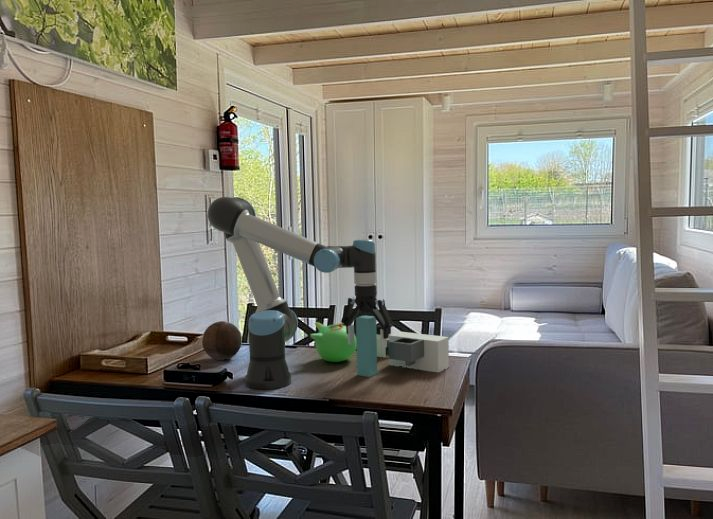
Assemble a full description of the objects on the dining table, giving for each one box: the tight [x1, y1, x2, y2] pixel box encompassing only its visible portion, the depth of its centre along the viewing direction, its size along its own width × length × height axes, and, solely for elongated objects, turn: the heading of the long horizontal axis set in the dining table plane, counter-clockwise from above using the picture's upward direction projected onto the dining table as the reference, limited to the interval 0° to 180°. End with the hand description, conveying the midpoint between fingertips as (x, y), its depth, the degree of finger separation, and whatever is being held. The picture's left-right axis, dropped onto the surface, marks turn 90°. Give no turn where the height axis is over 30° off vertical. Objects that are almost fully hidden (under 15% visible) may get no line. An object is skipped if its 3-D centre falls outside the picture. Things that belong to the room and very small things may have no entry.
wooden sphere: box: [201, 320, 243, 361], centre depth 228 cm, size 15×15×15 cm
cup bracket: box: [388, 337, 424, 366], centre depth 205 cm, size 9×9×9 cm
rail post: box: [355, 315, 378, 378], centre depth 202 cm, size 5×5×20 cm
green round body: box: [309, 321, 357, 363], centre depth 222 cm, size 18×17×15 cm
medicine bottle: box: [376, 324, 392, 359], centre depth 229 cm, size 7×7×12 cm
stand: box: [388, 331, 450, 373], centre depth 212 cm, size 20×8×11 cm, turn 54°
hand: (367, 345), depth 202 cm, fingers open, 13 cm apart
